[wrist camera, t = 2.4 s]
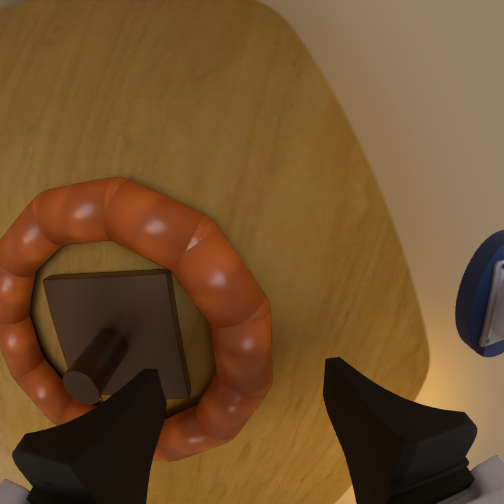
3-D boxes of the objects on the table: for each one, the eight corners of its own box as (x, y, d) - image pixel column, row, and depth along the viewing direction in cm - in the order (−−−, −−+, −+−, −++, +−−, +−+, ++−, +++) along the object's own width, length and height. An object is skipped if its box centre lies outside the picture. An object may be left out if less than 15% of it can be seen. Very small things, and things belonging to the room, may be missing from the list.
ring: (260, 164, 15) (265, 159, 12) (273, 437, 19) (277, 468, 16) (-11, 204, 15) (-40, 210, 12) (55, 423, 19) (41, 445, 16)
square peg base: (170, 268, 16) (139, 309, 11) (191, 389, 18) (178, 453, 12) (50, 274, 16) (-5, 307, 10) (82, 383, 18) (49, 433, 12)
